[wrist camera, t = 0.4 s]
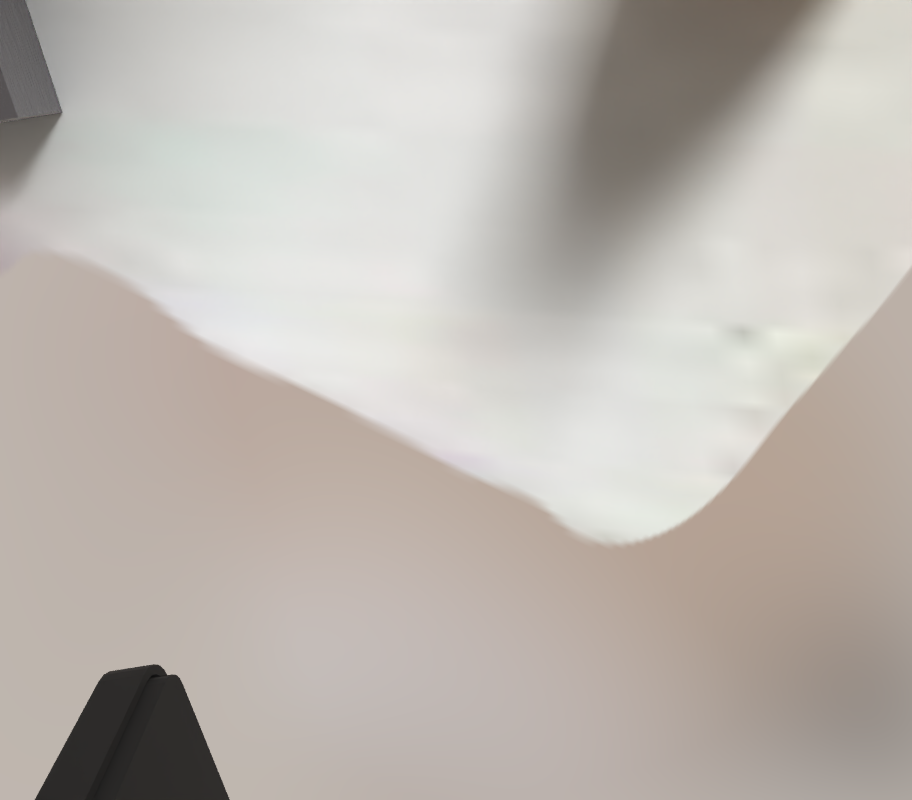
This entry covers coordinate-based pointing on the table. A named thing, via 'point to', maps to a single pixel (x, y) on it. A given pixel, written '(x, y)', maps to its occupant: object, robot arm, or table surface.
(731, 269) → the table surface
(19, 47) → the power strip
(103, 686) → the robot arm
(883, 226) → the table surface
